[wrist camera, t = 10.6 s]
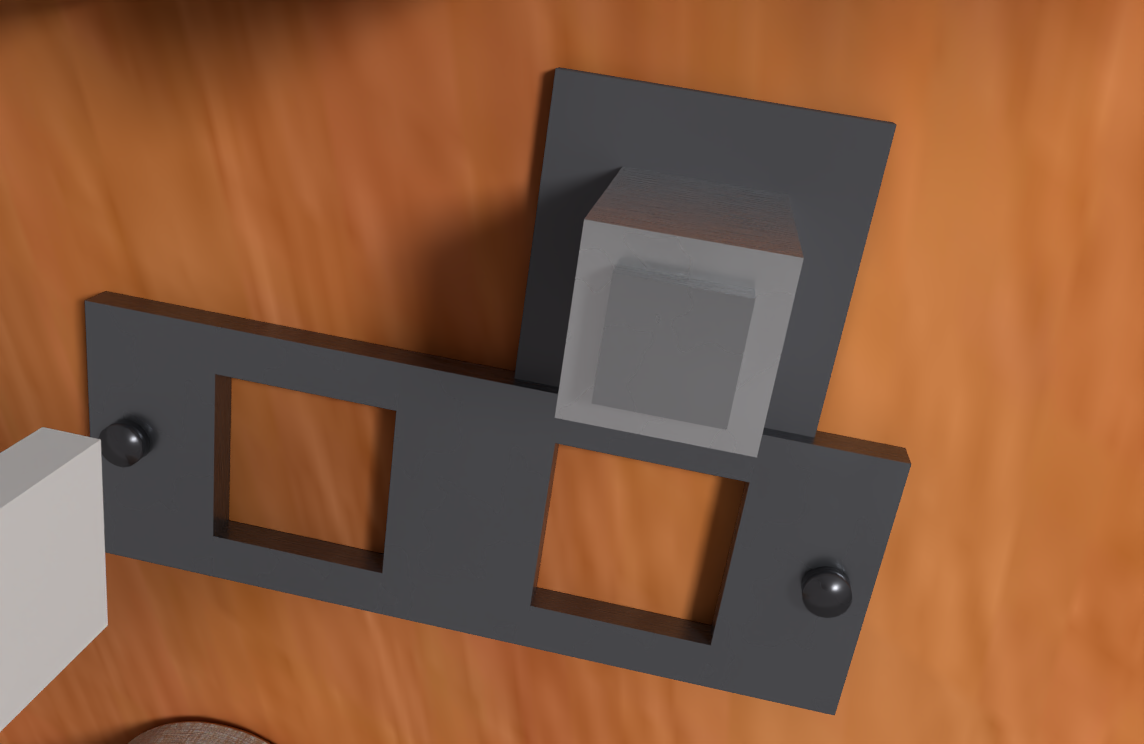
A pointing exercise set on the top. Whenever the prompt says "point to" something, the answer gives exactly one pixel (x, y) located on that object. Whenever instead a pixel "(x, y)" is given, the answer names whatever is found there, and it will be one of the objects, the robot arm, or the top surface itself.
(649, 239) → the grey square block
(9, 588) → the robot arm
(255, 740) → the planter
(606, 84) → the rubber mat
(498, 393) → the rack rail
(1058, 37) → the top surface
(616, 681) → the top surface
